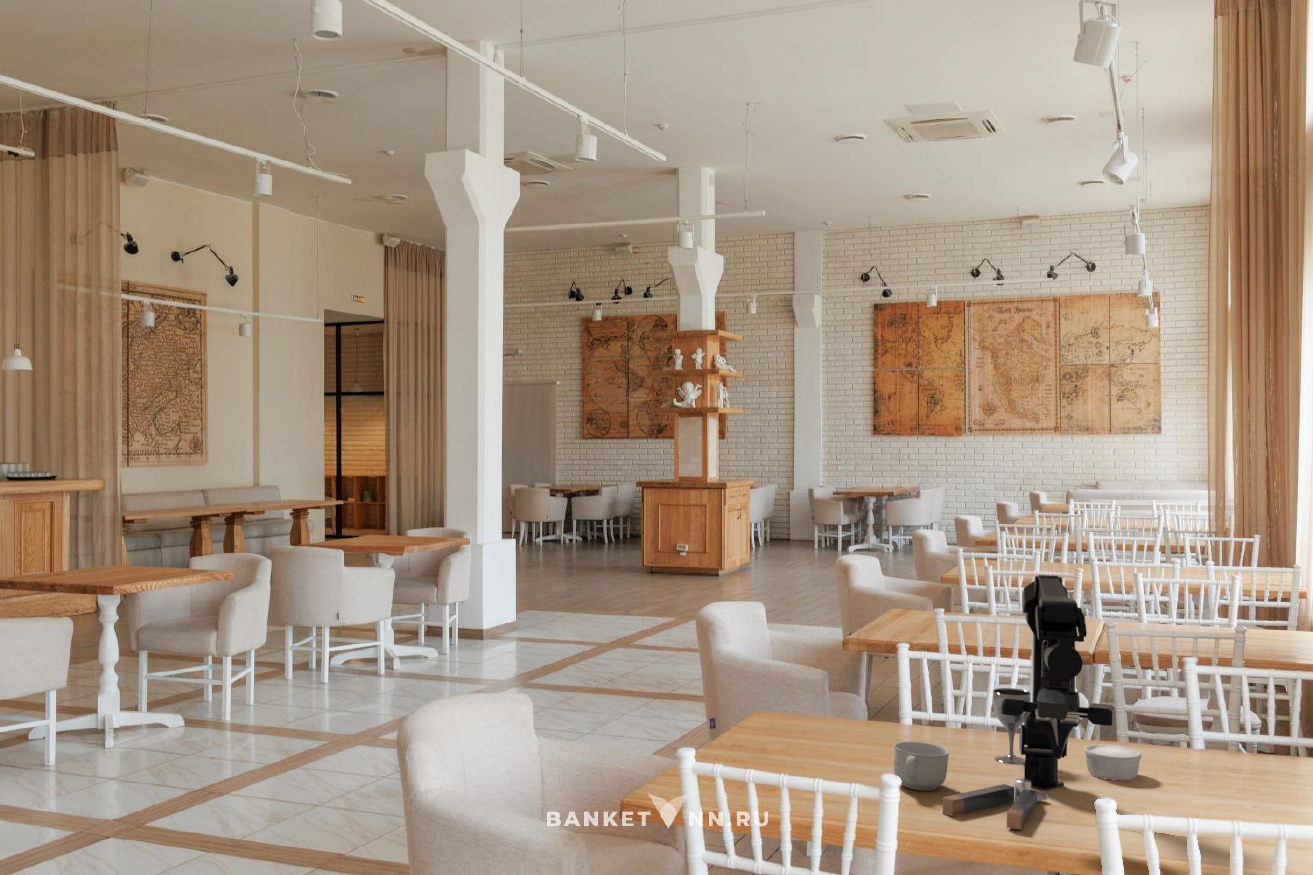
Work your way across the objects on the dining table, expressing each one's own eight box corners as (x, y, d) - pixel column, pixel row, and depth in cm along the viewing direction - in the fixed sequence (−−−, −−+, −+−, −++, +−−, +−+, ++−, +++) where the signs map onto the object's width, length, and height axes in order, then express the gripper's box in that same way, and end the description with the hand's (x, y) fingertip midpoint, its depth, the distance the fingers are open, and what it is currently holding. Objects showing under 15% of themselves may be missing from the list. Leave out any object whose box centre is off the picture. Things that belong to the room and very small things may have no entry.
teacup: (908, 776, 239) (909, 737, 239) (957, 786, 232) (958, 746, 232) (876, 790, 228) (876, 750, 229) (926, 801, 222) (926, 759, 222)
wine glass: (1038, 762, 251) (1038, 693, 251) (1008, 766, 248) (1008, 696, 248) (1014, 753, 258) (1014, 687, 258) (985, 757, 255) (985, 689, 256)
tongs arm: (1023, 802, 220) (1023, 788, 220) (1036, 804, 219) (1036, 790, 219) (1006, 827, 205) (1006, 812, 205) (1020, 829, 204) (1020, 814, 204)
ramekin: (1089, 765, 250) (1089, 741, 250) (1144, 773, 244) (1145, 748, 244) (1079, 777, 240) (1079, 752, 240) (1136, 785, 234) (1136, 759, 234)
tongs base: (1024, 794, 227) (1024, 774, 227) (1047, 801, 222) (1047, 780, 222) (942, 813, 214) (942, 791, 214) (964, 821, 210) (964, 798, 210)
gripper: (995, 671, 203) (995, 761, 203) (1108, 681, 195) (1108, 775, 194) (1008, 663, 213) (1007, 748, 213) (1115, 673, 205) (1115, 761, 204)
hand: (1057, 758), depth 206 cm, fingers closed
